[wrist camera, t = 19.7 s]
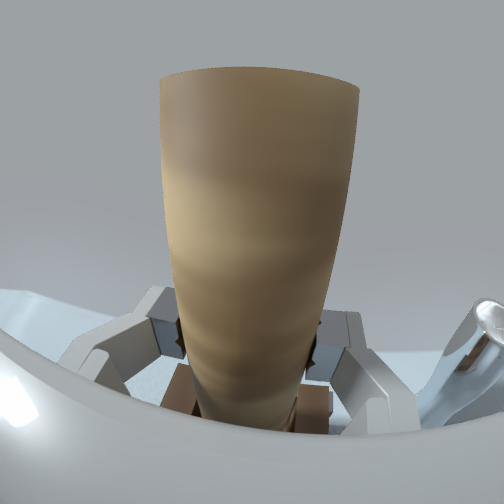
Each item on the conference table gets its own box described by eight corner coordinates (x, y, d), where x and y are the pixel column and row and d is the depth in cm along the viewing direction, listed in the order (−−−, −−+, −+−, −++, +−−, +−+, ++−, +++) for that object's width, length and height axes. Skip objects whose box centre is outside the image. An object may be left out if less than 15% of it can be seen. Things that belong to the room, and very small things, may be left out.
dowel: (201, 459, 11) (119, 79, 3) (215, 402, 15) (196, 87, 7) (276, 468, 11) (390, 86, 3) (281, 410, 14) (339, 94, 6)
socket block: (171, 492, 15) (134, 466, 10) (195, 421, 22) (178, 362, 17) (291, 513, 14) (324, 502, 9) (300, 438, 21) (328, 386, 16)
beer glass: (391, 401, 25) (458, 302, 17) (432, 385, 26) (495, 291, 18) (413, 449, 19) (506, 362, 11) (455, 426, 20) (536, 337, 12)
